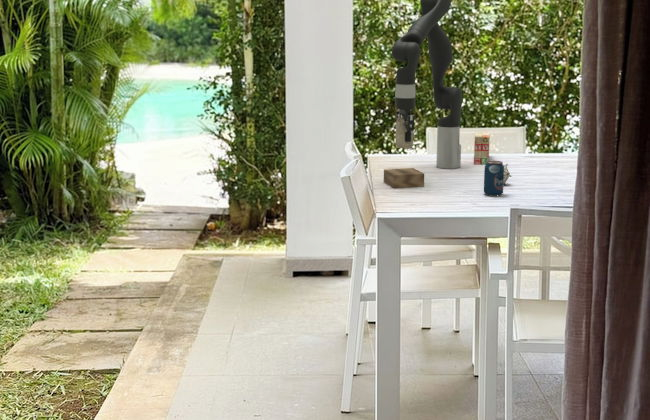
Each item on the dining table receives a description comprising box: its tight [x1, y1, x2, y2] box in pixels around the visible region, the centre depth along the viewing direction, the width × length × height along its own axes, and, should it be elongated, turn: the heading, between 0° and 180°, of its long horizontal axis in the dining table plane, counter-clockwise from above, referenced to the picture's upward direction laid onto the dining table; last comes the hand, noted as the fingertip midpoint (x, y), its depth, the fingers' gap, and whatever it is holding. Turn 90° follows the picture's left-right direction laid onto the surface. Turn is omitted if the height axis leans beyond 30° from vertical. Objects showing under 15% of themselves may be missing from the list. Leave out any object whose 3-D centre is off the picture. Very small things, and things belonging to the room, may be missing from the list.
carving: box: [394, 117, 415, 150], centre depth 363 cm, size 6×8×12 cm
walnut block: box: [383, 167, 425, 189], centre depth 367 cm, size 12×12×5 cm
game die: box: [503, 163, 512, 186], centre depth 366 cm, size 9×8×10 cm
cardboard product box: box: [473, 131, 491, 166], centre depth 416 cm, size 21×6×12 cm, turn 171°
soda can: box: [483, 160, 504, 197], centre depth 348 cm, size 7×7×12 cm
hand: (404, 140), depth 364 cm, fingers closed on carving, 6 cm apart
